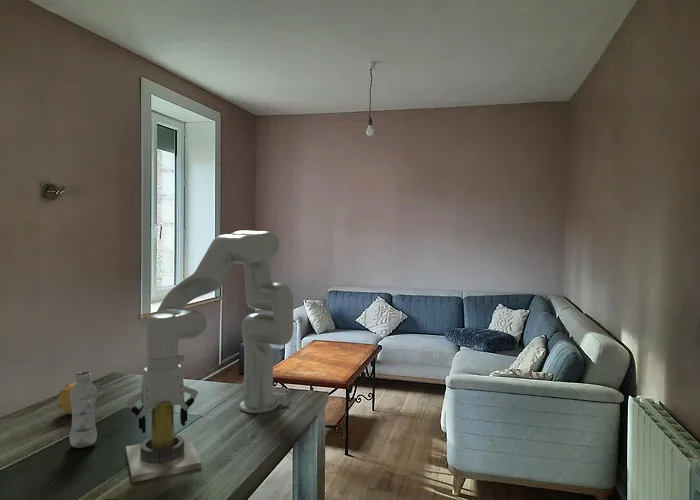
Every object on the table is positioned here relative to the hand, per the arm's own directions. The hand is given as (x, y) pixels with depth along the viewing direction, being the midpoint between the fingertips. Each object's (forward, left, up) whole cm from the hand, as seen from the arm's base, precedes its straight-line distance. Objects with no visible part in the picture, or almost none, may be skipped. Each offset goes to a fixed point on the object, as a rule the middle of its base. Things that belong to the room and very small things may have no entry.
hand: (163, 427), depth 129 cm
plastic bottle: (+18, -18, -9) cm, 27 cm away
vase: (0, 0, -7) cm, 7 cm away
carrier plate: (0, 0, -8) cm, 8 cm away
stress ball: (+20, -45, -9) cm, 50 cm away
